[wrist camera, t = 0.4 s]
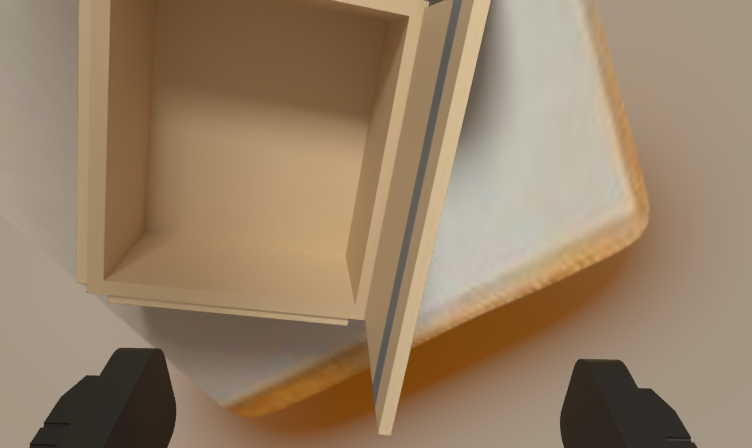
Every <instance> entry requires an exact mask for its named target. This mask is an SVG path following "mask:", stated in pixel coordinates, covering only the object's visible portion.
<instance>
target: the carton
mask: <svg viewBox="0 0 752 448" xmlns="http://www.w3.org/2000/svg"><path fill="white" fill-rule="evenodd" d="M426 7H429V1H425V0H79V59H78V183H77V283H81V284H87V293H93V294H103V295H108V303H118V304H129V305H139V306H149V307H160V308H170V309H180V310H191V311H201V312H211V313H222V314H232V315H243V316H253V317H263V318H274V319H284V320H294V321H305V322H315V323H326V324H336V325H346V326H347V325H348V320H349V319H356V320H365V311H366V306H367V301H368V295H369V290H370V285H371V280H372V275H373V270H374V265H375V260H376V254H377V249H378V244H379V239H380V234H381V229H382V224H383V219H384V213H385V208H386V203H387V198H388V193H389V188H390V183H391V178H392V172H393V167H394V162H395V157H396V152H397V147H398V142H399V137H400V132H401V126H402V121H403V116H404V111H405V106H406V101H407V96H408V91H409V85H410V80H411V75H412V70H413V65H414V60H415V55H416V50H417V44H418V39H419V34H420V29H421V24H422V19H423V14H424V9H425V8H426Z"/></svg>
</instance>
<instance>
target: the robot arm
mask: <svg viewBox="0 0 752 448" xmlns="http://www.w3.org/2000/svg"><path fill="white" fill-rule="evenodd" d="M560 417H561V418H560V430H561V436H562V442H563V445H564V448H697V447H696V445H695V443H692V442H691V437H690V435H689V433H688V432H687V430H686V428H685V427H684V425H683V423H682V422H681V420H680V418H679V417H678V415H677V413H676V412H675V411H674V410H673V409H672V408H671V407H670V406H669V405H668V404H667V403H666V402H665V401H664V400H663V399H662V398H660V397H659V396H658V395H657V394H656V393H655V392H654V391H653V390H652V389H645V388H644V389H643V388H638V387H637V385H636V384H635V382H634V380H633V378H632V376H631V374H630V373H629V371H628V369H627V367H626V366H625V364H624V363H623V362H622V361H620V360H605V359H604V360H603V359H579V360H578V361H577V362H576V364H575V366H574V369H573V373H572V376H571V380H570V383H569V387H568V390H567V394H566V397H565V400H564V403H563V407H562V411H561V416H560ZM175 420H176V402H175V397H174V393H173V389H172V385H171V381H170V377H169V372H168V369H167V364H166V360H165V356H164V353H163V351H162V350H161V349H153V348H151V349H150V348H119V349H117V350H116V351H115V352H114V353H113V355H112V356H111V358H110V359H109V361H108V363H107V364H106V366H105V368H104V369H103V371H102V372H101V374H100V376H88V375H87V376H85V377H84V378H83V379H82V380H80V381H79V382H78V383H77V384H76V385H75V386H73V387H72V388H71V389H70V390H69V391H68V392H66V393H65V394H64V395H63V396H62V397H61V398H60V399H59V401H58V402H57V404H56V405H55V407H54V408H53V410H52V411H51V413H50V414H49V416H48V418H47V419H46V421H45V422H44V427H43V428H40V429H39V431H38V433H37V434H36V435H35V437H34V439H33V440H32V442H31V443H30V448H167V447H168V444H169V442H170V439H171V437H172V434H173V430H174V426H175Z"/></svg>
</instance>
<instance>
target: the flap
mask: <svg viewBox="0 0 752 448" xmlns="http://www.w3.org/2000/svg"><path fill="white" fill-rule="evenodd" d="M490 2H491V0H444V1H441V2H439V3H436V4H434V5H431V6H429V7H426V8H425V9H424V14H423V19H422V24H421V29H420V34H419V39H418V44H417V50H416V55H415V60H414V65H413V70H412V75H411V80H410V85H409V91H408V96H407V101H406V106H405V111H404V116H403V121H402V126H401V132H400V137H399V142H398V147H397V152H396V157H395V162H394V167H393V172H392V178H391V183H390V188H389V193H388V198H387V203H386V208H385V213H384V219H383V224H382V229H381V234H380V239H379V244H378V249H377V254H376V260H375V265H374V270H373V275H372V280H371V285H370V290H369V295H368V301H367V306H366V311H365V324H366V333H367V342H368V350H369V359H370V368H371V377H372V385H373V386H372V389H373V397H374V407H375V412H376V420H377V429H378V434H382V435H391V431H392V427H393V423H394V419H395V414H396V410H397V406H398V401H399V397H400V393H401V388H402V384H403V380H404V375H405V371H406V366H407V362H408V358H409V353H410V349H411V345H412V340H413V336H414V332H415V327H416V323H417V319H418V314H419V310H420V306H421V301H422V297H423V293H424V288H425V284H426V280H427V275H428V271H429V267H430V262H431V258H432V254H433V249H434V245H435V241H436V236H437V232H438V227H439V223H440V219H441V214H442V210H443V206H444V201H445V197H446V193H447V188H448V184H449V180H450V175H451V171H452V167H453V162H454V158H455V154H456V149H457V145H458V141H459V136H460V132H461V128H462V123H463V119H464V115H465V110H466V106H467V101H468V97H469V93H470V88H471V84H472V80H473V75H474V71H475V67H476V62H477V58H478V54H479V49H480V45H481V41H482V36H483V32H484V28H485V23H486V19H487V15H488V10H489V6H490Z"/></svg>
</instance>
